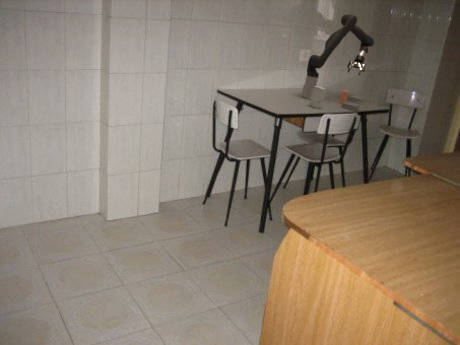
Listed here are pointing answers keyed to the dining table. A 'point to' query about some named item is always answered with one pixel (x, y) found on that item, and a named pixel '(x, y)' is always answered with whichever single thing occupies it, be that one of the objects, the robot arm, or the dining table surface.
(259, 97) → the dining table surface
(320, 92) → the skincare box
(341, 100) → the brick pillar
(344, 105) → the charcoal block
